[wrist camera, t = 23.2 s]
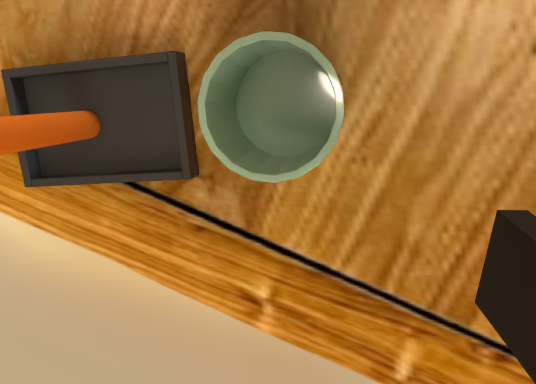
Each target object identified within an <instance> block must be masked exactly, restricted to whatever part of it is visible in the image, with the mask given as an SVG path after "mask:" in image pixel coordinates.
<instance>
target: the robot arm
mask: <svg viewBox="0 0 536 384" xmlns="http://www.w3.org/2000/svg"><path fill="white" fill-rule="evenodd" d="M475 303H476V305H477V306H478V307H479V309H480V310H481V311H482V313H483V314H484V315H485V317H486V318H487V319H488V321H489V322H490V323H491V325H492V326H493V327H494V329H495V330H496V331H497V333H498V334H499V335H500V337H501V338H502V340H503V341H504V342H505V344H506V345H507V346H508V348H509V349H510V350H511V352H512V353H513V354H514V356H515V357H516V358H517V360H518V361H519V362H520V364H521V365H522V366H523V368H524V369H525V370H526V372H527V373H528V375H529V376H530V377H531V379H532V380H533V381H534V383H535V384H536V216H534V215H533V214H532V213H530V212H529V211H528V210H497V213H496V217H495V221H494V225H493V229H492V233H491V237H490V242H489V246H488V250H487V254H486V258H485V262H484V266H483V270H482V275H481V279H480V283H479V287H478V291H477V295H476V299H475Z"/></svg>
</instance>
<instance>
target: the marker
mask: <svg viewBox="0 0 536 384" xmlns="http://www.w3.org/2000/svg"><path fill="white" fill-rule="evenodd" d="M99 131H100V121H99V118H98V117H97V116H96V114H94V113H93V112H91V111H88V110H84V111H70V112H57V113H43V114H29V115H16V116H2V117H0V155H3V154H9V153H14V152H20V151H25V150H30V149H36V148H41V147H47V146H52V145H58V144H63V143H68V142H74V141H79V140H85V139H90V138H94V137H95V136H97V134H98V133H99Z"/></svg>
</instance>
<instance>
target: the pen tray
mask: <svg viewBox="0 0 536 384" xmlns="http://www.w3.org/2000/svg"><path fill="white" fill-rule="evenodd" d="M1 72H2V77H3V82H4V86H5V91H6V96H7V101H8V106H9V111H10V116H16V115H29V114H43V113H57V112H70V111H84V110H88V111H91V112H93V113H94V114H96V116H97V117H98V118H99V121H100V131H99V133H98V134H97V136H95V137H94V138H90V139H85V140H79V141H74V142H68V143H63V144H58V145H52V146H47V147H41V148H36V149H30V150H25V151H20V152H18V155H19V160H20V164H21V169H22V174H23V179H24V184H25V187H38V186H58V185H79V184H99V183H120V182H141V181H161V180H182V179H191V178H193V177H195V176H197V175H199V173H198V164H197V156H196V147H195V139H194V130H193V121H192V113H191V104H190V96H189V87H188V79H187V70H186V62H185V54H184V53H181V52H177V51H170V52H161V53H152V54H142V55H133V56H124V57H115V58H105V59H96V60H87V61H78V62H68V63H59V64H50V65H41V66H31V67H22V68H13V69H3V70H1Z"/></svg>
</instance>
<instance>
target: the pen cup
mask: <svg viewBox="0 0 536 384" xmlns="http://www.w3.org/2000/svg"><path fill="white" fill-rule="evenodd" d="M197 106H198V115H199V124H200V129H201V131H202V133H203V135H204V137H205V140H206V142H207V144H208V146H209V148H210V150H211V152H212V153H213V154H214V155H215V156H216V157H217V158H218V159H219V160H220V161H221V162H222V163H223V164H224V165H225V166H226V167H227V168H228V169H230V170H232V171H234V172H236V173H238V174H239V175H241V176H243V177H245V178H247V179H250V180H255V181H263V182H270V183H277V182H282V181H286V180H291V179H295V178H298V177H301V176H302V175H304V174H305V173H307V172H309V171H310V170H312V169H313V168H315V167H316V166H318V165H319V164H320V163H321V162H322V161H323V160H324V159H325V157H326V156H327V155H328V153H329V152H330V151H331V149H332V148H333V147H334V145H335V144H336V142H337V139H338V136H339V133H340V130H341V126H342V123H343V120H344V113H345V106H344V91H343V87H342V85H341V82H340V80H339V77H338V75H337V73H336V70H335V69H334V67H333V65H332V63H331V62H330V61H329V60H328V59H327V58H326V57H325V56H324V55H323V54H322V53H321V52H320V51H319V50H318V49H317V47H316V46H315V45H313V44H312V43H310V42H307V41H305V40H303V39H301V38H299V37H297V36H295V35H293V34H291V33H287V32H273V31H260V32H257V33H253V34H250V35H247V36H244V37H240V38H238V39H236V40H235V41H233V42H232V43H231V44H229V45H228V46H227V47H226V48H224V49H223V50H222V51H221V52H219V53H218V54H217V55H216V56H215V58H214V59H213V61H212V63H211V64H210V66H209V68H208V69H207V71H206V72H205V74H204V76H203V78H202V82H201V87H200V91H199V96H198V100H197Z"/></svg>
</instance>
